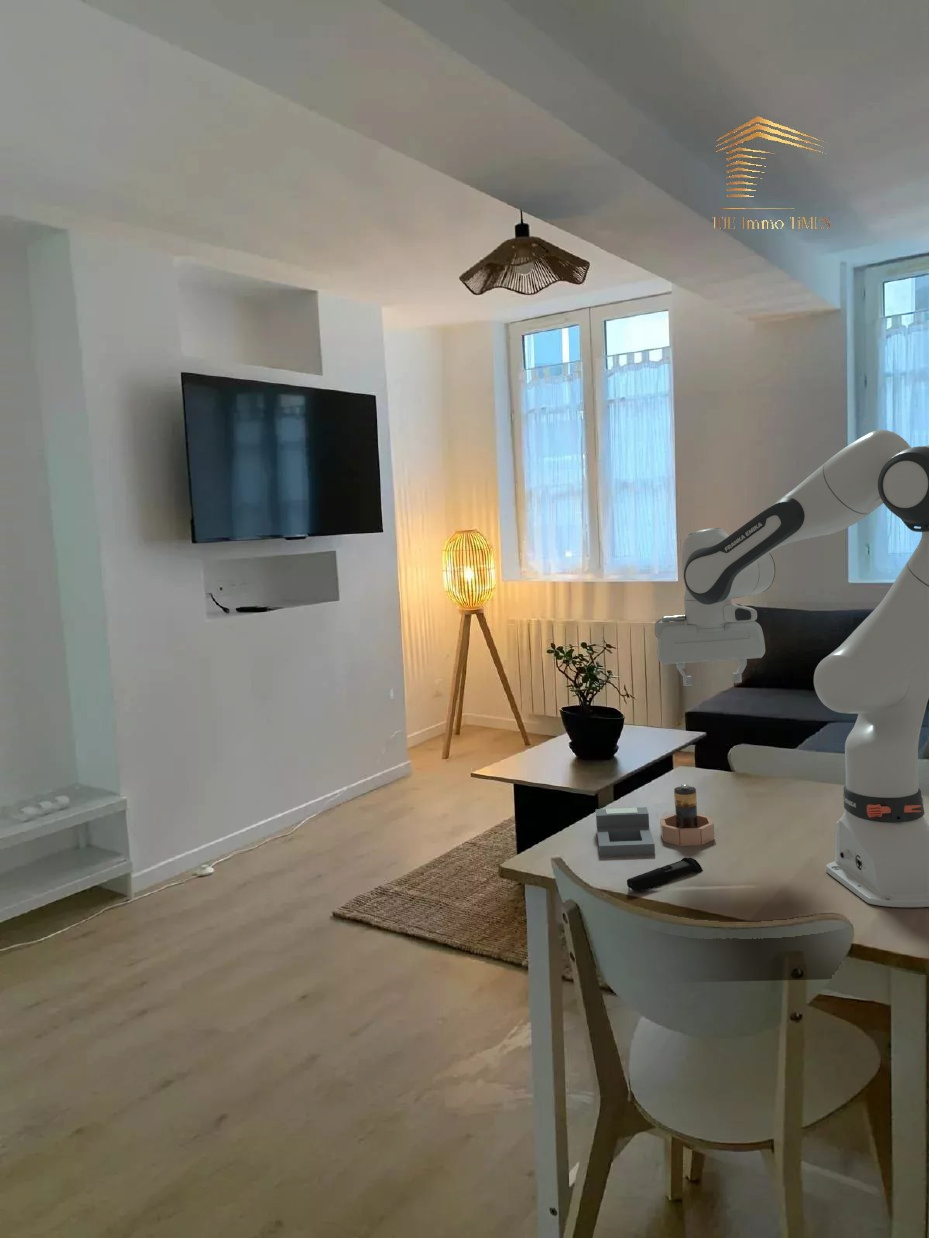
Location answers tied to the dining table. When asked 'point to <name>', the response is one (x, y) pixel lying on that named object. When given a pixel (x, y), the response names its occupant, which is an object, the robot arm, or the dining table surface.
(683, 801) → the cell
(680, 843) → the dish
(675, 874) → the electric trimmer
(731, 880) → the dining table surface
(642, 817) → the grey charging dock
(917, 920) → the dining table surface
